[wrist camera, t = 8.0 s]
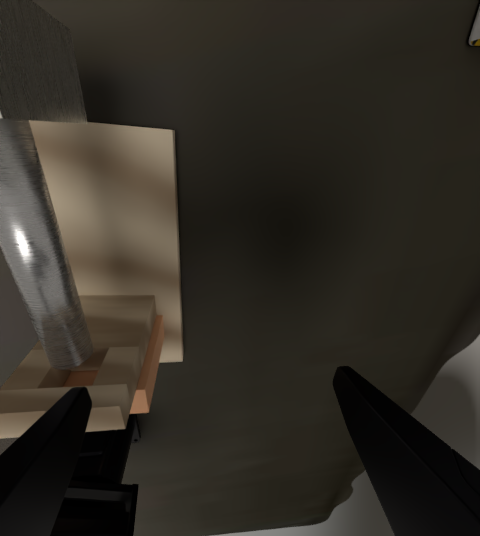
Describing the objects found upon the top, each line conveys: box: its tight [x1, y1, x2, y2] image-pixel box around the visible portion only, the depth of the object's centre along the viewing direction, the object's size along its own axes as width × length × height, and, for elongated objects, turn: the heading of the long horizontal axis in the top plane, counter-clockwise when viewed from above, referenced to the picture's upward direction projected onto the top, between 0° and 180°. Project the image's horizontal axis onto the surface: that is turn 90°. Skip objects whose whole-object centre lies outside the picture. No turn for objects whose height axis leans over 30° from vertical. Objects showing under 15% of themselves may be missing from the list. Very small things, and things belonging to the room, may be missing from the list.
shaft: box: [0, 0, 94, 370], centre depth 10 cm, size 14×4×5 cm, turn 175°
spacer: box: [63, 315, 165, 414], centre depth 18 cm, size 2×7×7 cm, turn 85°
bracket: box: [0, 120, 184, 439], centre depth 15 cm, size 20×10×10 cm, turn 175°
